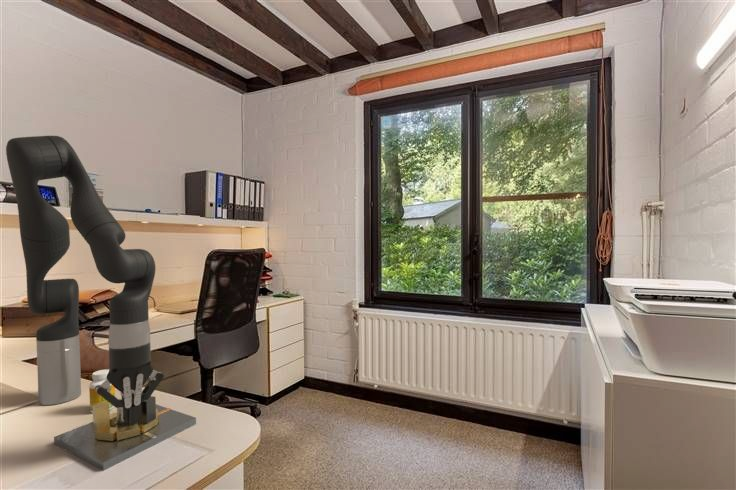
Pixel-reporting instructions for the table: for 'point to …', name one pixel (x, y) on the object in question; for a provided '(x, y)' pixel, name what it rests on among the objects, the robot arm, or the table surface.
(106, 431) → the gold octagonal ring
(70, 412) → the table surface
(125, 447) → the base plate
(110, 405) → the supplement bottle
